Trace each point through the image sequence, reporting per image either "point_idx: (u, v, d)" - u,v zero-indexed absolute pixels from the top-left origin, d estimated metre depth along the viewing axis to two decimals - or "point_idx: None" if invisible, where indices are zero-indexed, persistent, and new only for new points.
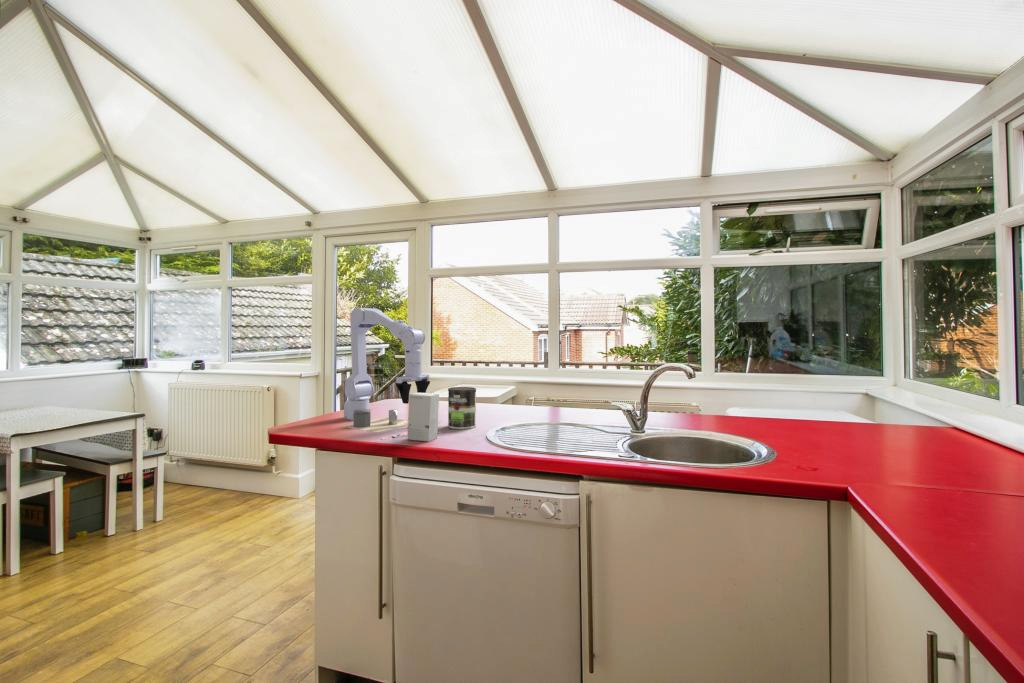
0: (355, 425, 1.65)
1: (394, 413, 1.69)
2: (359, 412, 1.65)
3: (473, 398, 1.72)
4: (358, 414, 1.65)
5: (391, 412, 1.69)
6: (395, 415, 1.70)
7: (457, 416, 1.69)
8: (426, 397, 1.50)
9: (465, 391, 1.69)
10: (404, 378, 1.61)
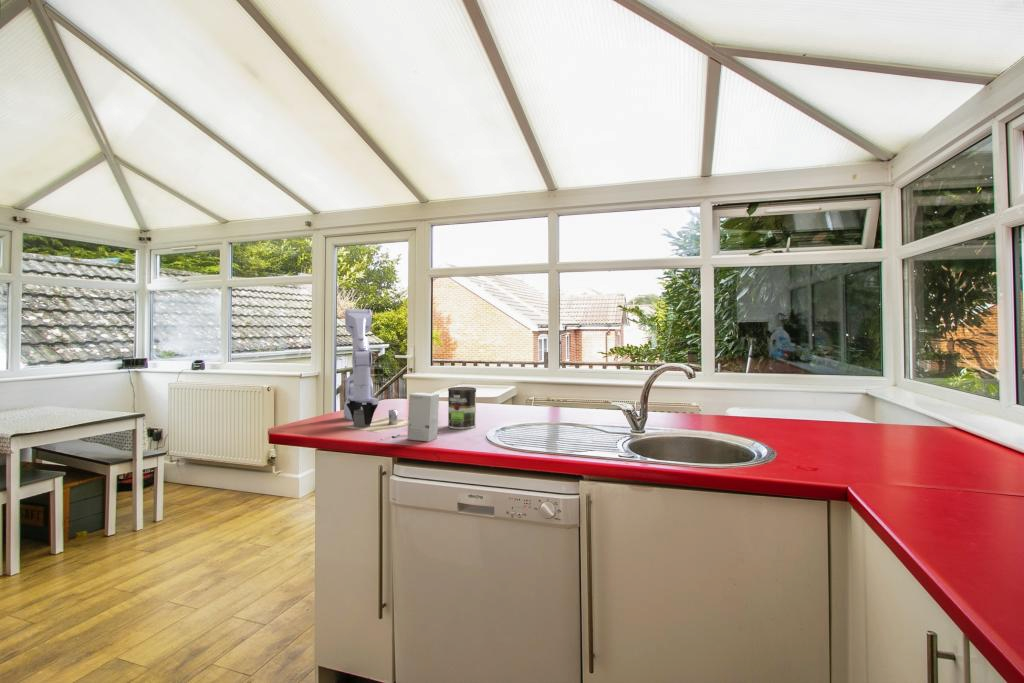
0: (355, 425, 1.65)
1: (394, 413, 1.69)
2: (359, 412, 1.65)
3: (473, 398, 1.72)
4: (358, 414, 1.65)
5: (391, 412, 1.69)
6: (395, 415, 1.70)
7: (457, 416, 1.69)
8: (426, 397, 1.50)
9: (465, 391, 1.69)
10: (348, 397, 1.69)
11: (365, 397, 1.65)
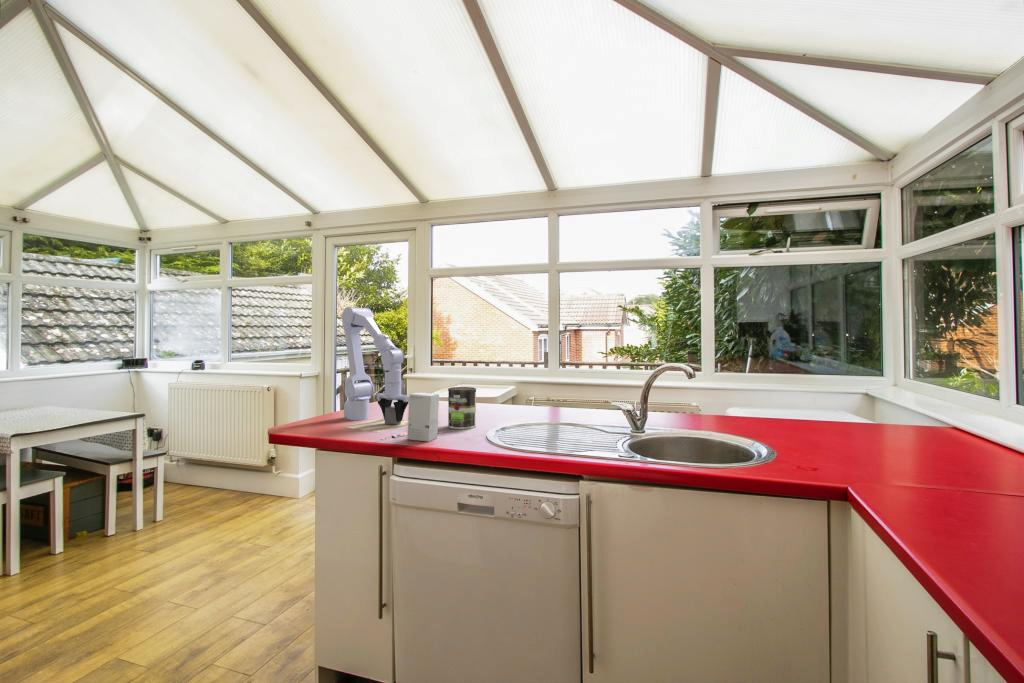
0: (386, 422, 1.68)
1: None
2: (391, 409, 1.68)
3: (473, 398, 1.72)
4: (390, 411, 1.68)
5: None
6: None
7: (457, 416, 1.69)
8: (426, 397, 1.50)
9: (465, 391, 1.69)
10: (379, 395, 1.72)
11: (396, 394, 1.68)
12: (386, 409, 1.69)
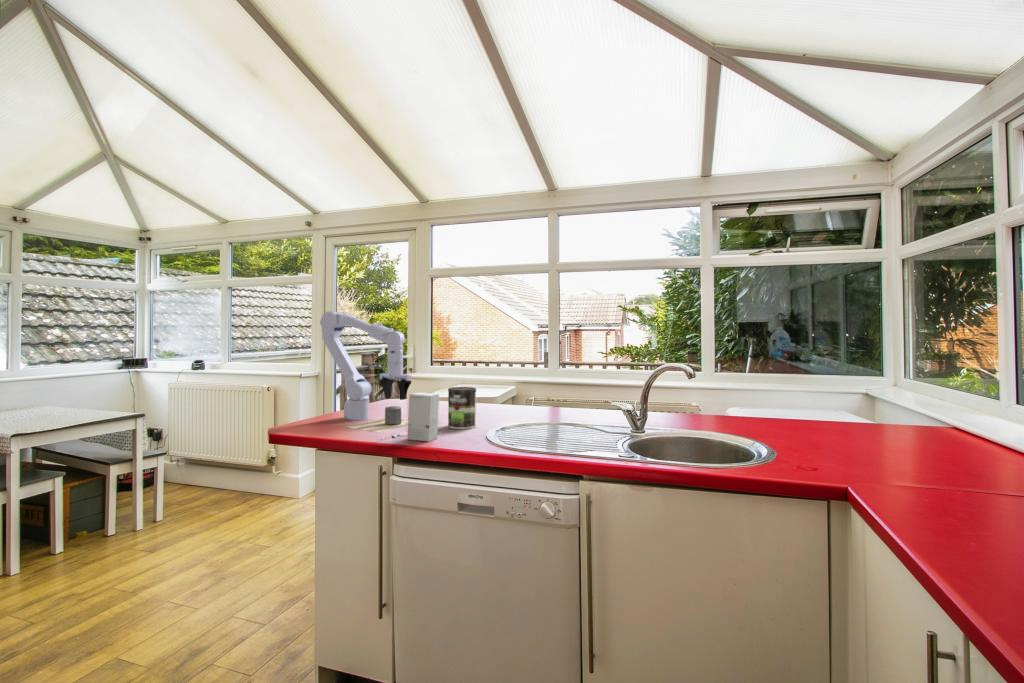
0: (392, 422, 1.68)
1: None
2: (397, 409, 1.69)
3: (473, 398, 1.72)
4: (396, 411, 1.68)
5: None
6: None
7: (457, 416, 1.69)
8: (426, 397, 1.50)
9: (465, 391, 1.69)
10: (382, 375, 1.81)
11: (398, 374, 1.77)
12: (391, 409, 1.68)
